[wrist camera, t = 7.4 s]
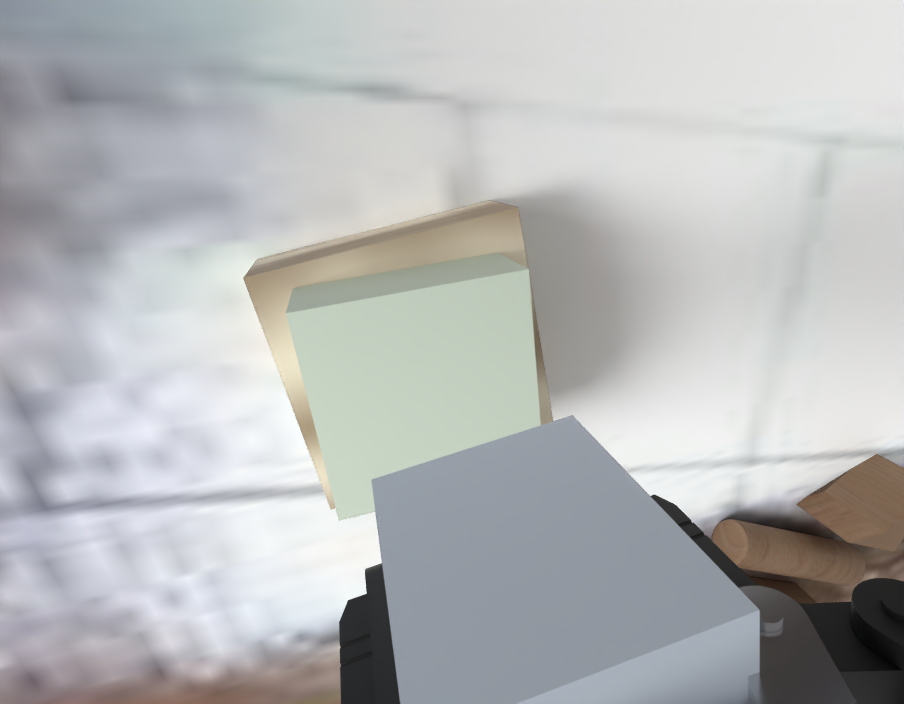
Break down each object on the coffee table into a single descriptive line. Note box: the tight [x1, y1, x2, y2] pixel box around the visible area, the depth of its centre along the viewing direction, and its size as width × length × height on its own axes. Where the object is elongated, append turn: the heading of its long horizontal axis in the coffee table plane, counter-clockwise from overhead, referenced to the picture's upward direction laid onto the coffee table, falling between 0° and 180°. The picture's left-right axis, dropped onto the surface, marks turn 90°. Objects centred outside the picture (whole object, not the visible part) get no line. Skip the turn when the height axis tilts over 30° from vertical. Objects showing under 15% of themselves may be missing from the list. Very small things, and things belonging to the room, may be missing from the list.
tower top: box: [286, 252, 541, 520], centre depth 23 cm, size 9×9×4 cm
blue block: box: [371, 415, 760, 704], centre depth 11 cm, size 5×5×6 cm
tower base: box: [243, 200, 553, 509], centre depth 27 cm, size 12×12×5 cm
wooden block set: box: [712, 454, 904, 604], centre depth 37 cm, size 17×6×18 cm
